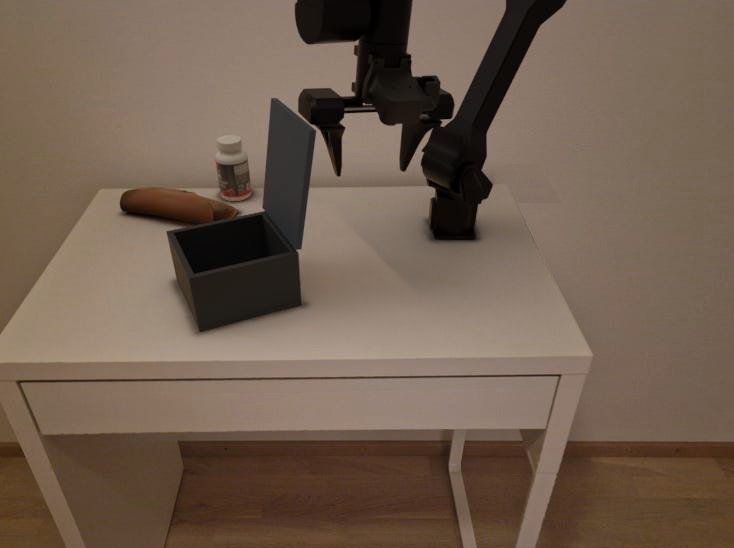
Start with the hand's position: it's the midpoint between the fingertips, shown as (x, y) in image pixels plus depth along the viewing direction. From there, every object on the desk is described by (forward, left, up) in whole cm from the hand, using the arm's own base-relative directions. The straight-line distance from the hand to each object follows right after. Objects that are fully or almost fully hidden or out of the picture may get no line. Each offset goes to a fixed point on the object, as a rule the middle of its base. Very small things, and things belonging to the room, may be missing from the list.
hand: (370, 173), depth 78 cm
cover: (+11, +6, +2) cm, 12 cm away
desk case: (+18, +9, -13) cm, 24 cm away
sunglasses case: (+31, -14, -13) cm, 36 cm away
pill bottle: (+23, -21, -13) cm, 34 cm away
